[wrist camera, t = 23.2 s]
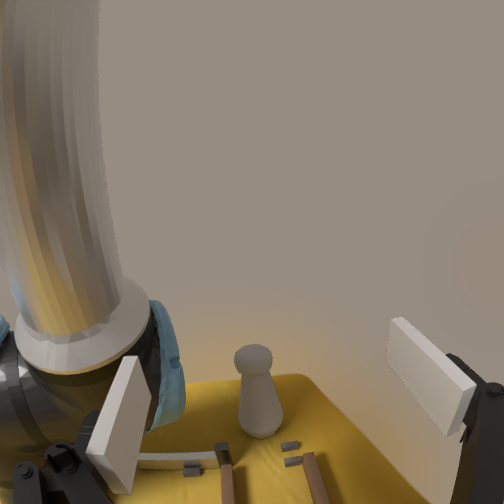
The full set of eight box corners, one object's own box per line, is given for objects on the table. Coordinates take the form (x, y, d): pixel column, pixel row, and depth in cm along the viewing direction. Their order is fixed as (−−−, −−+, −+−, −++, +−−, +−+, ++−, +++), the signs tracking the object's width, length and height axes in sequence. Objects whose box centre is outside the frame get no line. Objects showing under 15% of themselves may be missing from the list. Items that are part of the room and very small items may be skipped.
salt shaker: (244, 413, 41) (231, 337, 38) (285, 414, 40) (279, 336, 37) (237, 443, 36) (221, 364, 32) (282, 444, 35) (275, 364, 31)
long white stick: (140, 468, 31) (131, 452, 30) (142, 462, 32) (133, 445, 31) (232, 466, 31) (227, 449, 31) (231, 459, 33) (227, 442, 32)
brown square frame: (179, 563, 18) (171, 556, 17) (185, 456, 33) (180, 444, 33) (339, 546, 19) (341, 538, 18) (306, 442, 34) (306, 430, 34)
